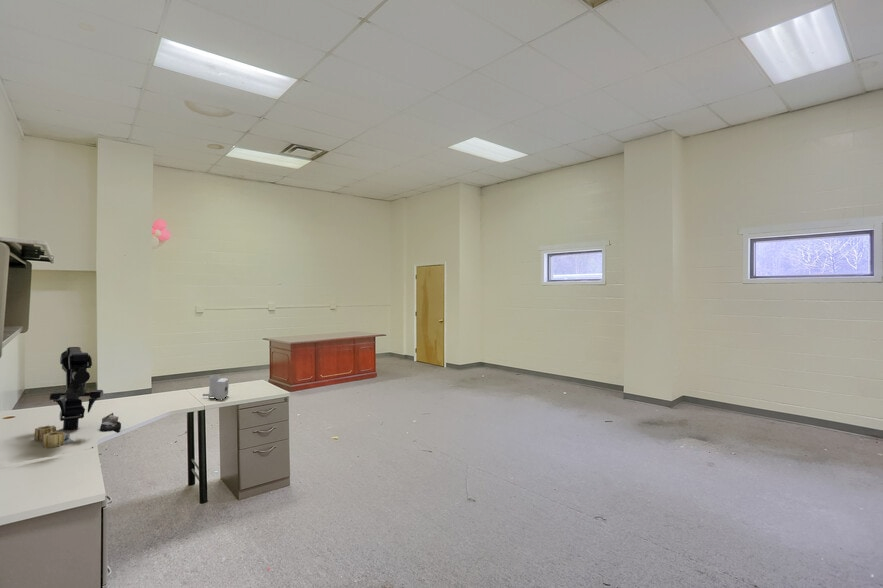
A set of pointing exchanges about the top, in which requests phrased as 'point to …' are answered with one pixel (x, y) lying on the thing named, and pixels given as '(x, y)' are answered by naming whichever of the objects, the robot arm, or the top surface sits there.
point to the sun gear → (67, 436)
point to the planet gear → (53, 439)
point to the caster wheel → (110, 423)
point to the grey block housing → (218, 387)
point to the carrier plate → (62, 444)
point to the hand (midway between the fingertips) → (76, 413)
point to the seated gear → (43, 432)
